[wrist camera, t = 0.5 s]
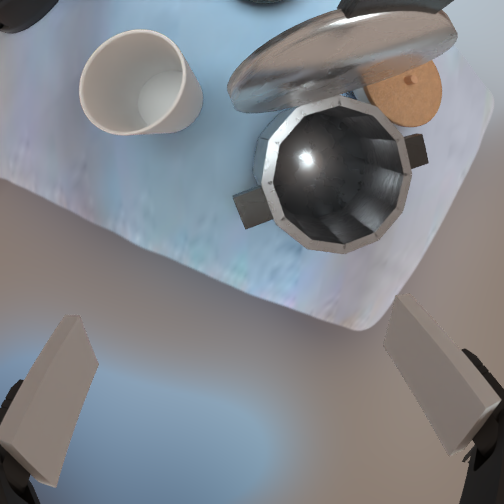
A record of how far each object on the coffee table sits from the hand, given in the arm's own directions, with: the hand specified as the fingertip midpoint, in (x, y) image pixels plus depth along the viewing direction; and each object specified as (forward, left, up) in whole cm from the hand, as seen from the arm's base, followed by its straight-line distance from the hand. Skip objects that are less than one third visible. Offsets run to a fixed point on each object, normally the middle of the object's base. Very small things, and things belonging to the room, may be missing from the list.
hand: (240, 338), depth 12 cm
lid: (-9, +11, -8) cm, 16 cm away
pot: (0, +11, -28) cm, 30 cm away
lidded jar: (-7, +23, -28) cm, 37 cm away
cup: (-14, -2, -28) cm, 31 cm away
